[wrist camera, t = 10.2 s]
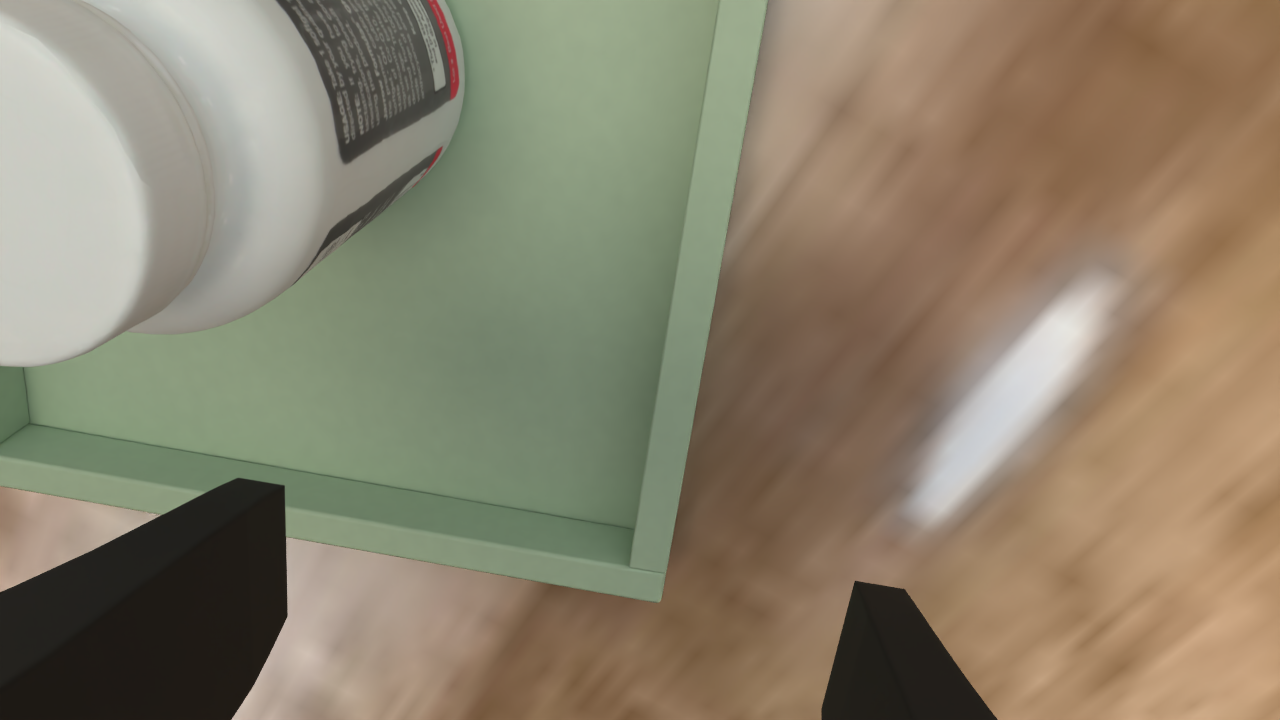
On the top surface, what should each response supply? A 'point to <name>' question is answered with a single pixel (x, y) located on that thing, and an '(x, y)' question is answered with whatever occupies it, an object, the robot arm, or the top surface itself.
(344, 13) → the pill bottle
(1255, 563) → the top surface
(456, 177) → the tray
